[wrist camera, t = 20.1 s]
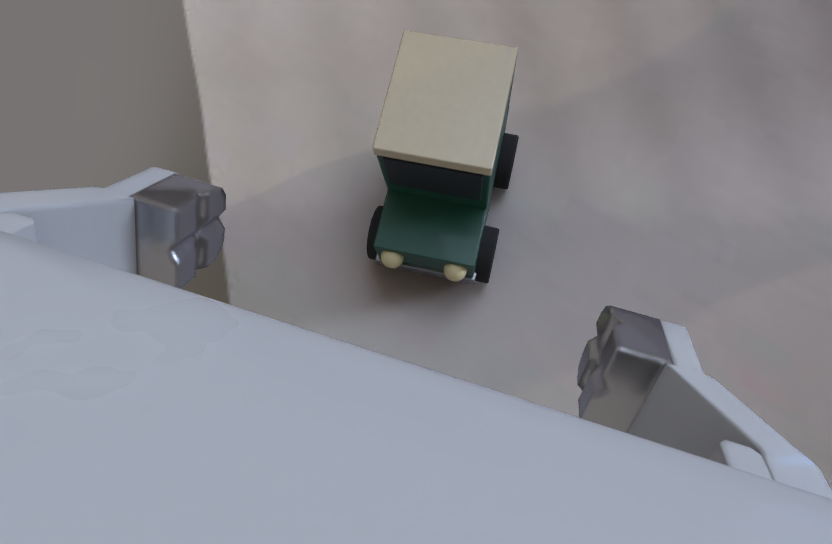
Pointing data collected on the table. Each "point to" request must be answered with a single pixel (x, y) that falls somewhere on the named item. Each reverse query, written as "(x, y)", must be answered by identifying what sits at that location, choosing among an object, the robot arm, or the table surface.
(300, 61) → the table surface
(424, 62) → the toy jeep
